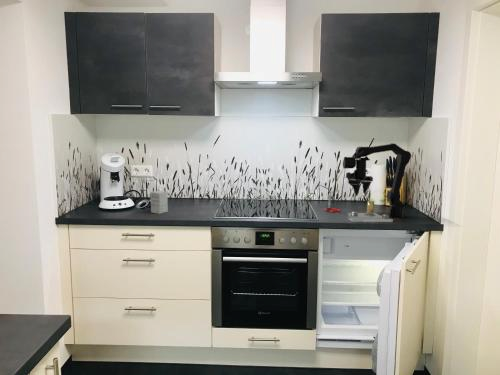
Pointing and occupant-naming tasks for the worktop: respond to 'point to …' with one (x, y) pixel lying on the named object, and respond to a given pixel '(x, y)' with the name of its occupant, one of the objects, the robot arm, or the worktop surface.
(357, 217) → the plate with square hole
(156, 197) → the supplement box
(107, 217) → the worktop surface
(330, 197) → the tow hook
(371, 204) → the brass pin
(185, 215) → the worktop surface
